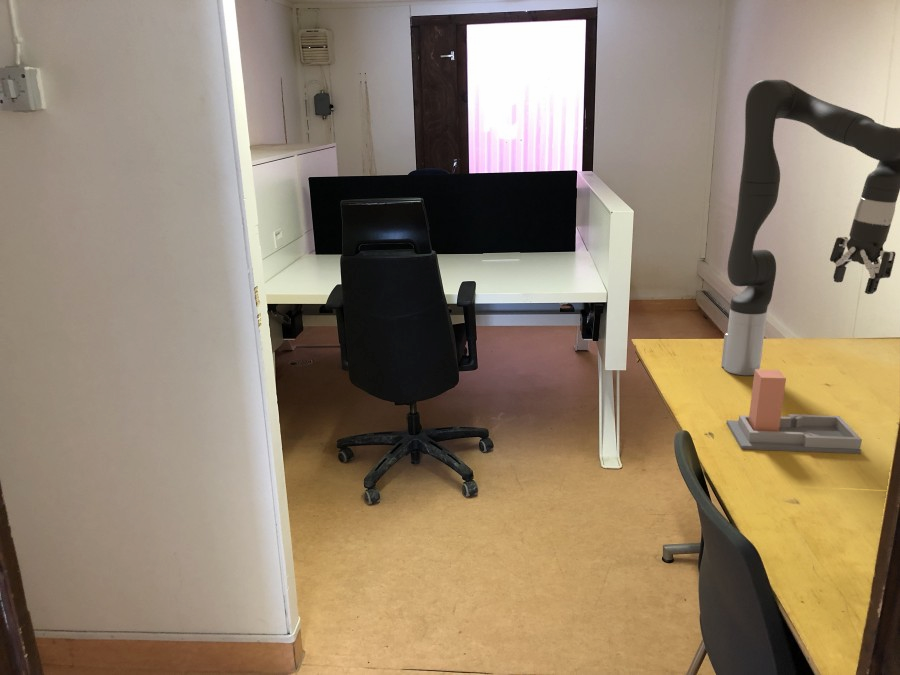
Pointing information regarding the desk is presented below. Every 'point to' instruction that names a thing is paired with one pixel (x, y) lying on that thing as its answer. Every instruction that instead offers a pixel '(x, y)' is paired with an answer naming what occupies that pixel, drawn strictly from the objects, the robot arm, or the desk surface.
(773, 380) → the block
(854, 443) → the keyhole board
